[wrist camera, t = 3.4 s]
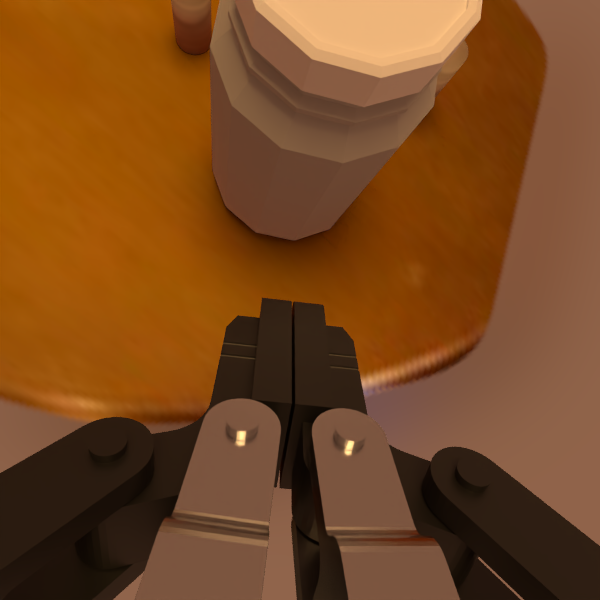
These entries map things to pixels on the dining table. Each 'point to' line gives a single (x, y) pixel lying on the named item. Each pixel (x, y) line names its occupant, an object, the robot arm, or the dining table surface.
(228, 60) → the jar
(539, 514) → the robot arm
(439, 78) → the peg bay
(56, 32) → the dining table surface
